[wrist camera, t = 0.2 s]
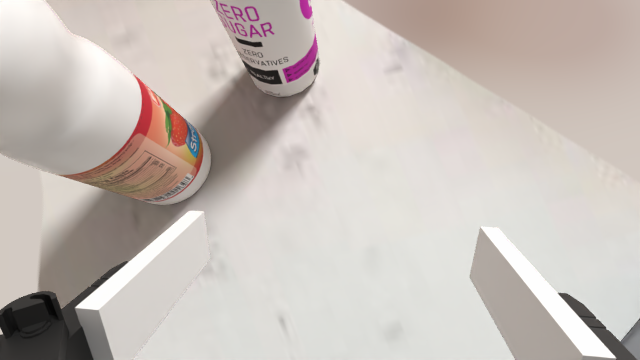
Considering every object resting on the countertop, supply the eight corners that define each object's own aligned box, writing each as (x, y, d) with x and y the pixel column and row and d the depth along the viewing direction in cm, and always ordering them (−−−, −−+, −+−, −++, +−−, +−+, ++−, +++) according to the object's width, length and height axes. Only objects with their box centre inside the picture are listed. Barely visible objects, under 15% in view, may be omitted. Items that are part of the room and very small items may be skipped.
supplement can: (313, 33, 37) (290, -115, 22) (325, 92, 34) (307, -32, 20) (249, 47, 37) (184, -90, 23) (256, 106, 35) (189, -5, 20)
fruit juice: (116, 180, 34) (-765, -136, 7) (167, 113, 36) (-389, -345, 9) (179, 223, 32) (-732, 0, 5) (230, 149, 34) (-248, -307, 7)
